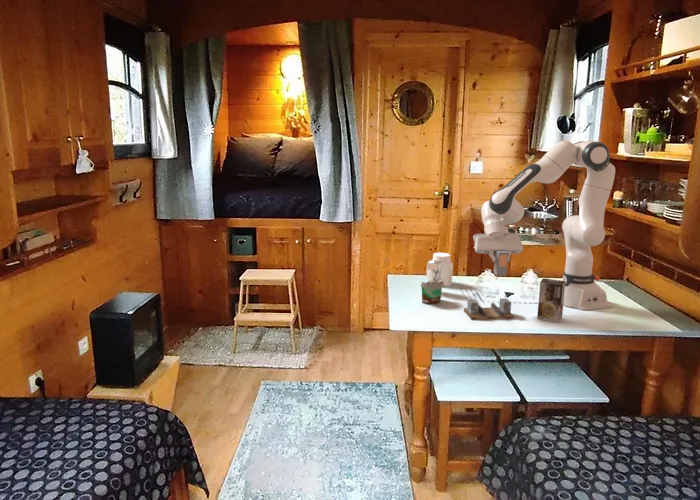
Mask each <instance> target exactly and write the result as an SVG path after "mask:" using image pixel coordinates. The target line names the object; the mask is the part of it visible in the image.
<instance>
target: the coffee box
mask: <svg viewBox="0 0 700 500" xmlns="http://www.w3.org/2000/svg"><path fill="white" fill-rule="evenodd" d="M564 292H565V281H563V280H558V279H552V278H542V279H541V281H540V282H539V291H538V304H537V305H538V306H537V315H536V316H537V317H536V319H538V320H543V321H550V322H554V323H560V322H561V321H562V319H563V312H564V311H563V310H564V305H563V303H564Z"/></svg>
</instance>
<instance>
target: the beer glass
mask: <svg viewBox="0 0 700 500" xmlns="http://www.w3.org/2000/svg"><path fill="white" fill-rule="evenodd" d="M441 263H442V262H441V261H438V260H432V259H429V260H428V261H427V264H426V279H427V282H429V281H435V280H438V278H441V272H442V264H441Z"/></svg>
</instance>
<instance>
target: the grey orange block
mask: <svg viewBox="0 0 700 500" xmlns="http://www.w3.org/2000/svg"><path fill="white" fill-rule="evenodd" d="M494 256H495V257H497V262H493V263H494V265H493V274H494V275H495V276H496V277H497V276H498V277H503V276H504V277H505V276H507V271H508V270H507V269H508V262H507V260H508V252H506V251H497V250H496V252H495V255H494Z"/></svg>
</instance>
